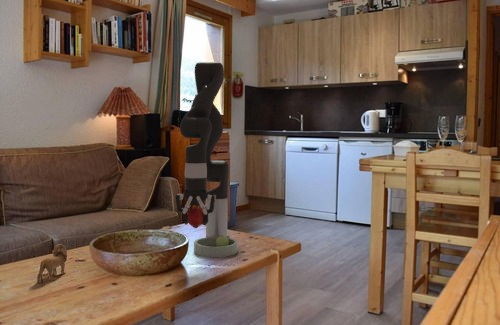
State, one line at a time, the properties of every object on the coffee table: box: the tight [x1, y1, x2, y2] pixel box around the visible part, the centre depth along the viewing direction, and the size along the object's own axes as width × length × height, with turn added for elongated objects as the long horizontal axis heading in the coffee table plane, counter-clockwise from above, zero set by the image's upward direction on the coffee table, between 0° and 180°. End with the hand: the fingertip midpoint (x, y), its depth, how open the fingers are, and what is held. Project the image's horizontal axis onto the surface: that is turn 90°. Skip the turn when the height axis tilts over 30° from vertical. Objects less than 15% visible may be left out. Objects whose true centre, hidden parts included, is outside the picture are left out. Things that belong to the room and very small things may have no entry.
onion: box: [187, 205, 204, 229], centre depth 150 cm, size 6×6×8 cm
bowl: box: [193, 236, 239, 258], centre depth 163 cm, size 16×16×4 cm
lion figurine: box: [36, 243, 68, 284], centre depth 133 cm, size 15×5×9 cm, turn 2°
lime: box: [216, 236, 229, 247], centre depth 165 cm, size 5×5×5 cm
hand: (195, 224), depth 150 cm, fingers closed on onion, 6 cm apart
